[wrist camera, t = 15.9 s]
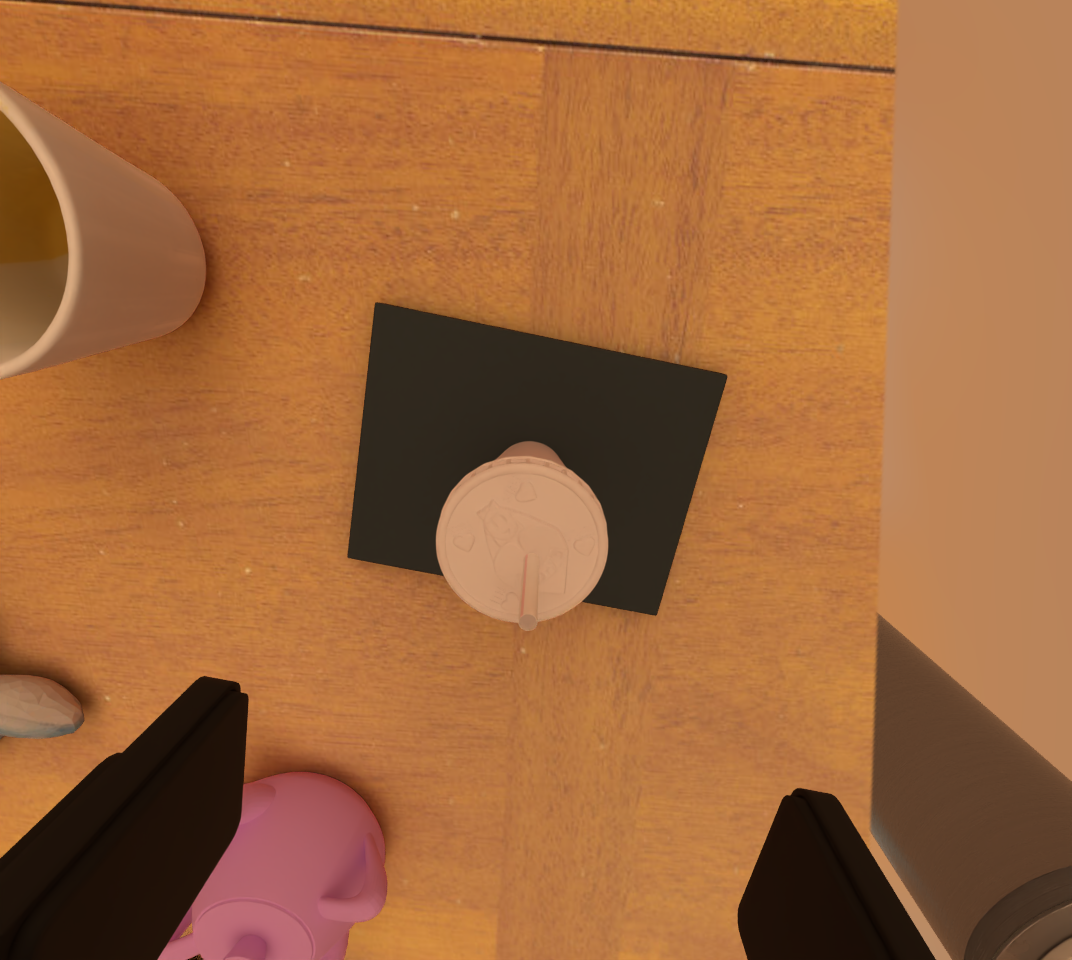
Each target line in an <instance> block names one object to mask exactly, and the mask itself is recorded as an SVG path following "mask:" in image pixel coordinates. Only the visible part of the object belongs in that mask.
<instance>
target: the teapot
mask: <svg viewBox="0 0 1072 960" xmlns="http://www.w3.org/2000/svg"><path fill="white" fill-rule="evenodd" d="M384 863H385V843H384V837H383V834H382V830H381V828H380V826H379V824H378V822H377V820H376V817H375V816H374V814H373V812H372V811H371V809H370V808H369V806H368V805H367V803H366V802H365V801H364V800H363V798H362V797H361V796H360V795H359V794H358V793H357V792H355V791H354V790H353V789H352V788H350V787H349V786H348V785H346V784H344V783H342V782H341V781H339V780H336V779H334V778H332V777H329V776H326V775H322V774H318V773H312V772H288V773H282V774H277V775H273V776H269V777H266V778H263V779H260V780H257V781H254V782H252V783H246V784H243V798H242V814H241V820H240V823H239V826H238V829H237V832H236V834H235V836H234V838H233V840H232V842H231V843H230V845H229V846H228V848H227V850H226V851H225V853H224V854H223V856H222V858H221V859H220V861H219V862H218V864H217V866H216V867H215V869H214V870H213V872H212V874H211V875H210V877H209V878H208V880H207V882H206V883H205V885H204V886H203V888H202V889H201V891H200V893H199V894H198V896H197V897H196V899H195V901H194V902H193V904H192V905H191V907H190V909H189V910H188V912H187V913H186V915H185V917H184V918H183V920H182V921H181V923H180V925H179V926H178V928H177V929H176V931H175V933H174V934H173V936H172V937H171V939H170V940H169V942H168V944H167V945H166V947H165V948H164V950H163V952H162V953H161V955H160V956H159V958H158V960H187V959H190V958H192V957H194V956H196V955H198V954H200V955H201V957H202V958H203V959H204V960H344V957H345V953H346V949H347V945H348V937H349V929H350V928H351V927H352V926H353V925H354V923H355V922H364V921H367V920H370V919H372V918H374V917H375V916H377V914H378V913H379V912H380V911H381V909H382V908H383V906H384V903H385V900H386V895H387V876H386V872H385V868H384ZM191 923H192V927H193V933H191V934H189V935H186V936H184V937H182V938H180V936H181V935H182V934H183V933H184V931H185V930H186V929H187V928H188V926H189V925H190V924H191Z"/></svg>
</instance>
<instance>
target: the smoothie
mask: <svg viewBox="0 0 1072 960" xmlns="http://www.w3.org/2000/svg"><path fill="white" fill-rule="evenodd" d="M436 551H437V557H438V562H439V565H440V568H441V571H442V573H443V575H444V577H445V579H446V580H447V582H448V584H449V585H450V587H451V588H452V589H453V591H454V592H455V593H456V594H457V595H458V596H459V597H460V598H461V599H462V600H463V601H464V602H465V603H467V604H468V605H469V606H471V607H472V608H474V609H475V610H477V611H479V612H481V613H483V614H485V615H487V616H489V617H492V618H495V619H498V620H502V621H507V622H515V623H518V624H519V626H520V628H521V629H523V630H526V631H530V630H533V629H534V628H536V626H537V622H539V621H544V620H548V619H551V618H554V617H557V616H559V615H562V614H564V613H566V612H567V611H569V610H571V609H572V608H574V607H575V606H577V605H578V604H579V603H580V602H582V601H583V600H584V599H585V598H586V597H587V596H588V595H589V594H590V592H591V591H592V590H593V589H594V587H595V586H596V584H597V583H598V581H599V579H600V577H601V575H602V573H603V570H604V567H605V564H606V560H607V554H608V535H607V523H606V520H605V517H604V513H603V510H602V507H601V504H600V502H599V501H598V499H597V498H596V496H595V494H594V493H593V491H592V490H591V488H590V487H589V485H588V484H586V483H585V482H584V481H583V480H582V479H581V478H580V477H579V476H577V475H576V474H575V473H574V472H573V471H572V470H570V469H568V468H566V467H565V465H564V464H563V462H562V461H561V460H560V458H559V457H558V455H557V454H556V453H555V452H554V451H553V450H552V449H551V448H549V447H548V446H546V445H544V444H542V443H539V442H534V441H525V442H520V443H517V444H514V445H512V446H511V447H509V448H508V449H506V450H505V451H504V452H503V453H502V454H501V455H500V456H499V457H498V458H497V459H496V460H494V461H491V462H487V463H484V464H483V465H481V466H479V467H478V468H476V469H475V470H473V471H472V472H470V473H468V474H467V475H465V476H464V478H463V479H462V480H461V481H460V482H459V483H458V484H457V485H456V486H455V487H454V489H453V490H452V491H451V492H450V494H449V496H448V498H447V500H446V502H445V504H444V506H443V509H442V511H441V516H440V519H439V522H438V527H437V532H436Z"/></svg>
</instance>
